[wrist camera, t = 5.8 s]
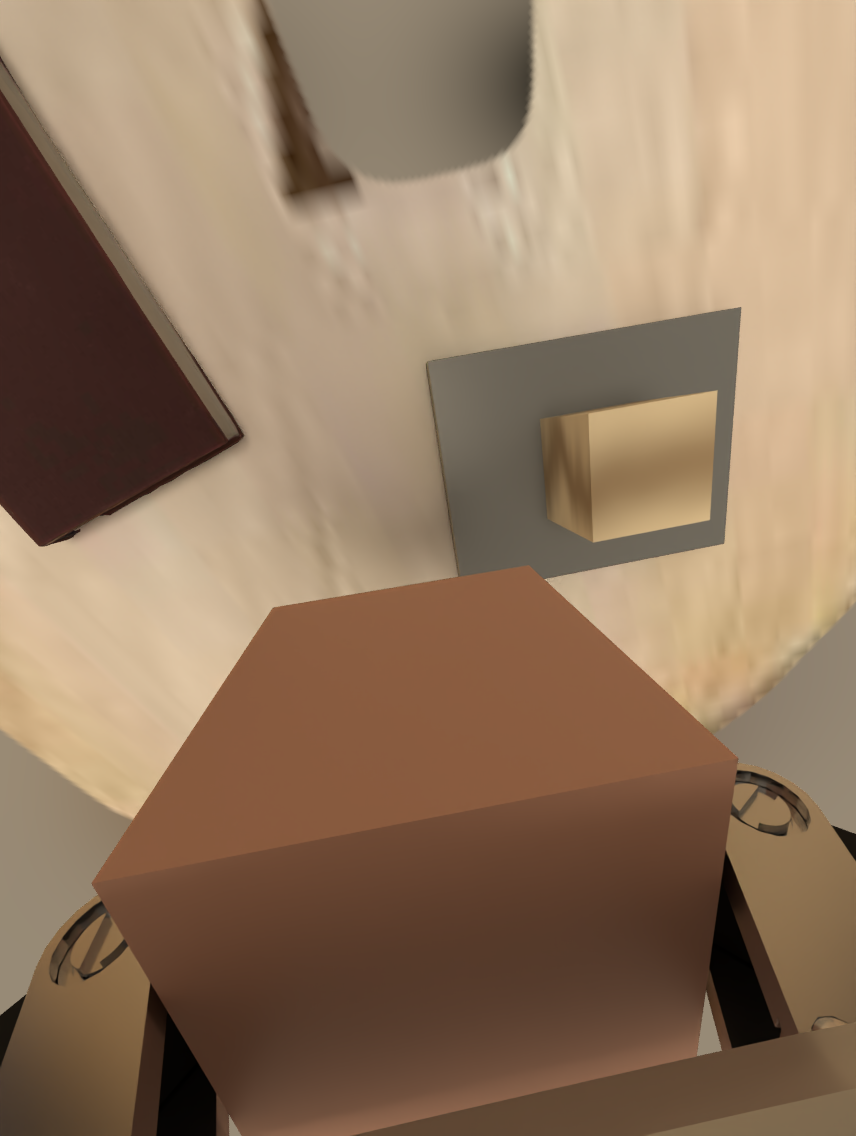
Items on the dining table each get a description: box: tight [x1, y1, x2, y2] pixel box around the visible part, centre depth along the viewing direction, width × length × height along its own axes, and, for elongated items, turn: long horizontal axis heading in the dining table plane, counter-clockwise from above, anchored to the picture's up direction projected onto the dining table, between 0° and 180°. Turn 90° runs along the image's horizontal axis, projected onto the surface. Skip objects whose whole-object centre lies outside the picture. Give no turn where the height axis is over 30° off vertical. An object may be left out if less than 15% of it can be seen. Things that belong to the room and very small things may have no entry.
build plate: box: [426, 307, 741, 579], centre depth 25 cm, size 14×18×1 cm
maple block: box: [540, 390, 718, 543], centre depth 22 cm, size 6×6×6 cm
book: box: [0, 57, 244, 546], centre depth 20 cm, size 12×19×3 cm, turn 27°
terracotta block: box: [92, 565, 738, 1136], centre depth 7 cm, size 6×6×6 cm
